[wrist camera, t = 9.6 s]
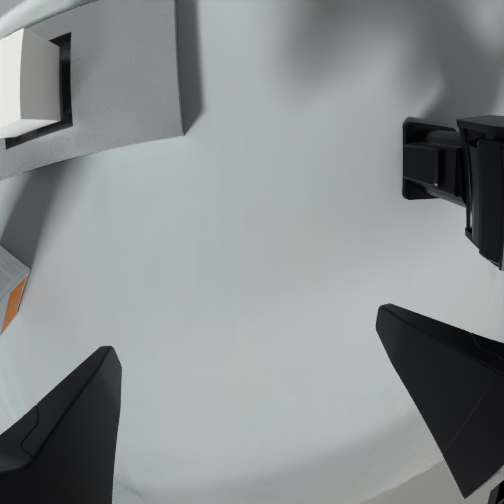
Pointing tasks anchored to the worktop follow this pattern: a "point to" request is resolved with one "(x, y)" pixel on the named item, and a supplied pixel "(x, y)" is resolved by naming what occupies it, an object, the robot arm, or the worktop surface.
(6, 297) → the skincare box
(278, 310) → the worktop surface
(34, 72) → the plug
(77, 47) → the socket plate
